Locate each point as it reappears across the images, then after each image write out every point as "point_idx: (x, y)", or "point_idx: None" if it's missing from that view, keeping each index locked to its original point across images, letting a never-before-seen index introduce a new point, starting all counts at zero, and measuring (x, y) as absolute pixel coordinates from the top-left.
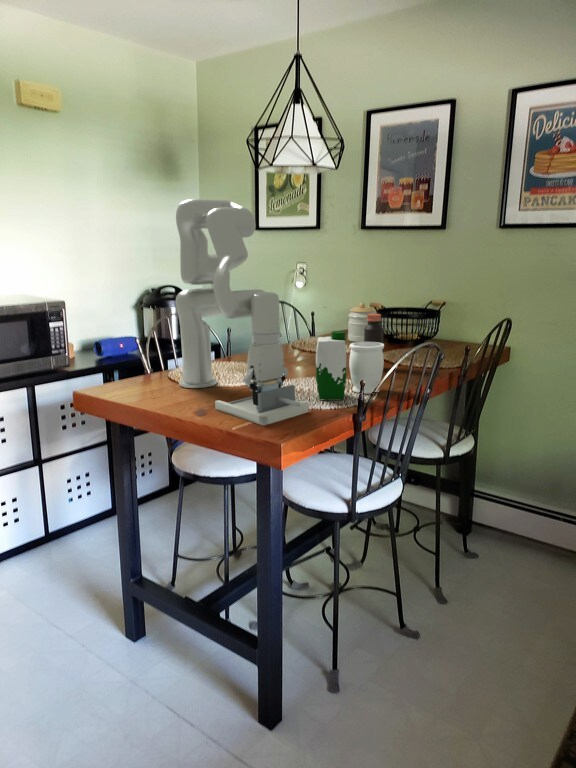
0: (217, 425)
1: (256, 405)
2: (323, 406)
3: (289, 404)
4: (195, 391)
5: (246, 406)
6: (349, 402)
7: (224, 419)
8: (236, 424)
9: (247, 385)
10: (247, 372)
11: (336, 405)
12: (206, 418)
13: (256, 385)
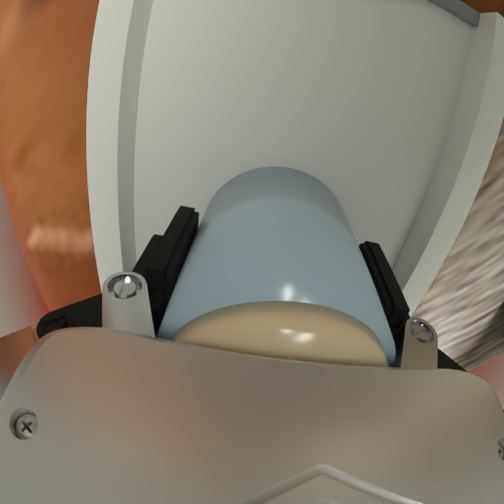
0: (6, 165)
1: (205, 211)
2: (444, 339)
3: None
4: None
5: (272, 57)
6: (484, 359)
7: (53, 119)
8: (56, 214)
9: (39, 328)
10: (1, 412)
11: (457, 355)
12: (20, 50)
13: (158, 332)
